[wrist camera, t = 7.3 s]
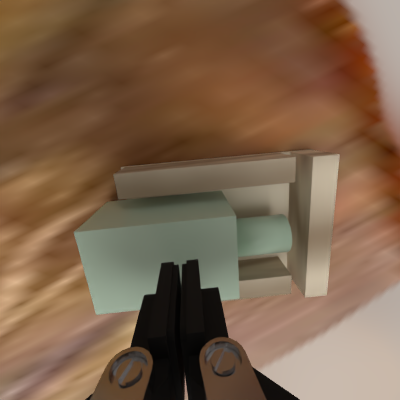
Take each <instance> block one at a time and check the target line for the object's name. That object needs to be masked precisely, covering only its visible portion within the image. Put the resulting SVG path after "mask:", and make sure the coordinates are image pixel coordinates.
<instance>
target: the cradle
mask: <svg viewBox="0 0 400 400" xmlns="http://www.w3.org/2000/svg"><path fill="white" fill-rule="evenodd" d="M339 155H340V154H335V153H329V152H322V151H316V150H310V149H307V150H296V151H285V152H275V153H264V154H253V155H243V156H232V157H221V158H211V159H200V160H189V161H179V162H168V163H157V164H147V165H136V166H125V167H121V170H119V171H118V172H116V173H115V174H113V175H114V180H115V185H116V190H117V195H118V200H119V199H127V200H130V199H140V198H150V197H160V196H170V195H180V194H190V193H200V192H211V191H221V190H222V192H223V194H224V196H225V197H226V199H227V201H228V203H229V204H230V206H231V208H232V209H233V211H234V213H235V215H236V219H237V218H247V217H257V216H267V215H276V214H283V215H285V216H286V218H287V219H288V222H289V224H290V227H291V232H292V247H291V250H290V251H289V252H282V253H273V254H263V255H254V256H245V257H238V271H239V294H240V299H249V298H258V297H267V296H276V295H285V294H291V281H292V280H293V281H294V283H295V284H296V285H297V287H298V288H299V290H300V291H301V293H302V294H303V295H304V297H314V296H323V295H327V286H328V275H329V264H330V253H331V242H332V231H333V221H334V210H335V199H336V188H337V177H338V166H339ZM240 299H232V300H240ZM223 301H231V300H223ZM221 302H222V301H221Z"/></svg>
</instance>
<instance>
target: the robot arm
mask: <svg viewBox="0 0 400 400" xmlns="http://www.w3.org/2000/svg"><path fill="white" fill-rule="evenodd" d="M185 378H186V385H187V392H188V400H299V399H298V398H297V397H295V396H294V395H292V394H291V393H289V392H288V391H287V390H285V389H283V388H282V387H281V386H279V385H278V384H276V383H275V382H273V381H272V380H270V379H269V378H267V377H266V376H265V375H263V374H262V373H260V372H259V371H257V370H256V369H254V368H253V367H252V366H251V363H250V361H249V359H248V356H247V354H246V352H245V350H244V349H243V347H242V346H241V345H240V344H239V343H238V342H237V341H235V340H233V339H231V338H229V337H228V332H227V327H226V322H225V318H224V313H223V308H222V303H221V298H220V293H219V288H218V287H214V288H204V289H201V284H200V273H199V263H198V259H194V260H186V264H182V279H180V271H179V265H178V264H177V265H174V262H165V263H161V268H160V273H159V278H158V283H157V289H156V294H147V295H144V297H143V300H142V304H141V308H140V312H139V316H138V320H137V324H136V327H135V331H134V335H133V339H132V343H131V347H130V348H127V349H125V350H122V351H121V352H119V353H118V354H116V355H115V356H114V357H113V358H112V359H111V360H110V362H109V363H108V365H107V366H106V368H105V370H104V372H103V374H102V376H101V378H100V380H99V382H98V384H97V386H96V389H95V391H94V393H93V394H91V395H90V396H89V397H88V398H87V399H86V400H184V395H185Z"/></svg>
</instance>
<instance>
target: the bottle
mask: <svg viewBox="0 0 400 400" xmlns="http://www.w3.org/2000/svg"><path fill="white" fill-rule="evenodd" d="M74 235H75V238H76V242H77V246H78V249H79V253H80V257H81V260H82V264H83V268H84V272H85V275H86V279H87V283H88V286H89V290H90V294H91V297H92V301H93V305H94V308H95V312H96V315H99V314H107V313H116V312H125V311H134V310H140V308H141V304H142V300H143V297H144V295H147V294H156V289H157V283H158V278H159V273H160V268H161V263H165V262H174V265H177V264H178V265H179V271H180V279H182V264H186V260H194V259H198V263H199V273H200V284H201V289H204V288H214V287H218V288H219V293H220V298H221V301H223V300H232V299H240V294H239V271H238V257H245V256H254V255H263V254H273V253H282V252H289V251H290V250H291V247H292V232H291V227H290V224H289V222H288V219H287V218H286V216H285V215H283V214H276V215H267V216H257V217H247V218H237V219H236V215H235V213H234V211H233V209H232V208H231V206H230V204H229V203H228V201H227V199H226V197H225V196H224V194H223V192H222V190H221V191H211V192H200V193H190V194H180V195H170V196H160V197H150V198H140V199H130V200H119V201H109V202H106V203H105V204H104V205H103V206H102V207H101V208H100V209H99V210H98V211H97V212H95V213H94V214H93V215H92V216H91V217H90V218H89V219H88V220H87V221H86V222H85V223H83V224H82V225H81V226H80V227H79V228H78V229H77V230H76V231H75V232H74Z"/></svg>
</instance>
